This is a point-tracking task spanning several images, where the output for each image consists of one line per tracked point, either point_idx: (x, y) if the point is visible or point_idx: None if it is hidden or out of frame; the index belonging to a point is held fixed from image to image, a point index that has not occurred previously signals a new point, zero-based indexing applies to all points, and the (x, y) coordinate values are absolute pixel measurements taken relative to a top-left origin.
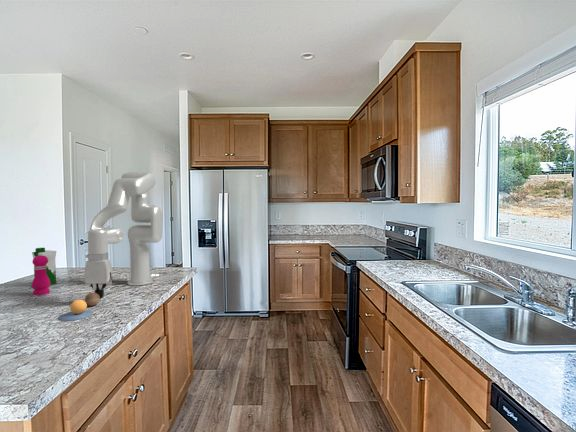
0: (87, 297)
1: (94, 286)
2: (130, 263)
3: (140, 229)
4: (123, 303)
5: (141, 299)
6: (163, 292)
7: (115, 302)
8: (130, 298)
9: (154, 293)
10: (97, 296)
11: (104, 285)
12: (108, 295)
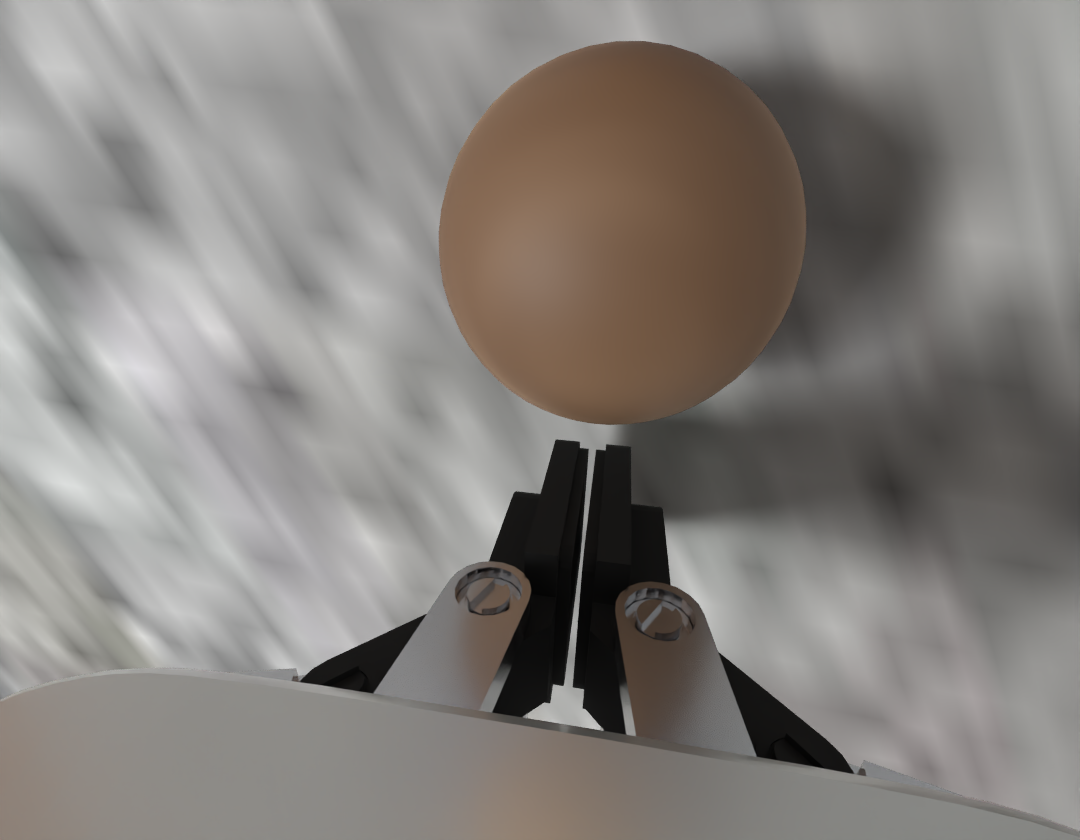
0: (695, 75)
1: (673, 685)
2: None
3: None
4: (142, 309)
5: (35, 471)
6: (6, 684)
7: (305, 385)
8: (214, 543)
9: (73, 673)
10: (441, 219)
11: (333, 673)
12: (597, 727)
